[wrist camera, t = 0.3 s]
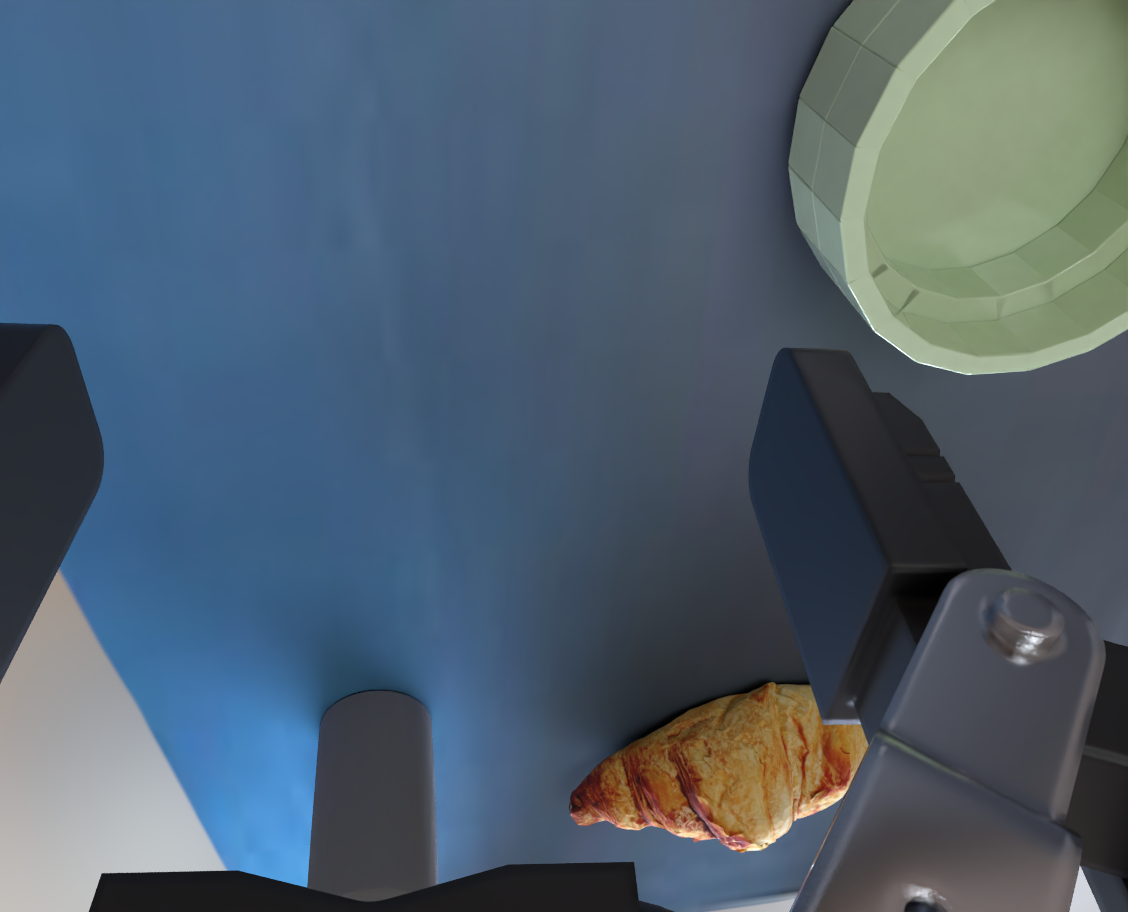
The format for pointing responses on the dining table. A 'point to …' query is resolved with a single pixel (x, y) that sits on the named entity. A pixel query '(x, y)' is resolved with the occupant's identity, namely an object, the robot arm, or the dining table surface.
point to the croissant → (727, 770)
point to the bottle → (374, 799)
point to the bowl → (971, 176)
